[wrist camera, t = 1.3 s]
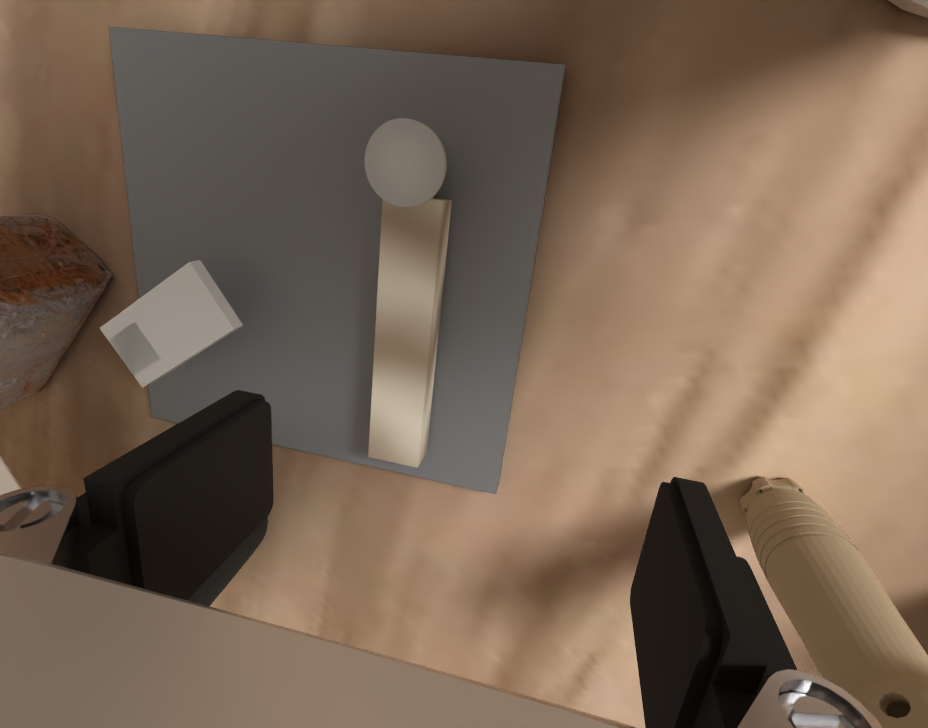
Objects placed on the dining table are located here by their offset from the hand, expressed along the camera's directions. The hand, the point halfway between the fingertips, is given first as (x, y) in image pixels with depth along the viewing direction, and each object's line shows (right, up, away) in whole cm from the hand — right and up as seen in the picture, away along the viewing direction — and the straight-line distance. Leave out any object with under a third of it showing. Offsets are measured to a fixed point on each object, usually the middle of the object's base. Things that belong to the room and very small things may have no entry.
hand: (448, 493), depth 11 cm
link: (-3, +4, +17) cm, 18 cm away
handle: (+17, -5, +18) cm, 25 cm away
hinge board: (-8, +8, +19) cm, 22 cm away
